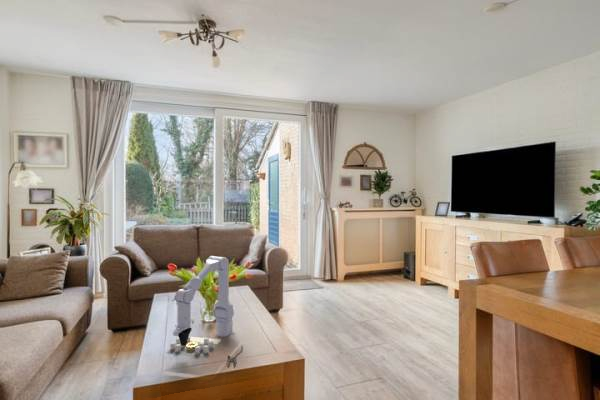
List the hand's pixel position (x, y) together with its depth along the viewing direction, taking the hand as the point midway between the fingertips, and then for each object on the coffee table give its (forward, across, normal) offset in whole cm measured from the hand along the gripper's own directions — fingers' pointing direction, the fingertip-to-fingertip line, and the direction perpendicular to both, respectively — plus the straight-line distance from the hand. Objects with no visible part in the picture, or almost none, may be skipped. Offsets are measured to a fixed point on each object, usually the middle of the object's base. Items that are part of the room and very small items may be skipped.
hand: (183, 344), depth 149 cm
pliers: (+7, -8, +22) cm, 24 cm away
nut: (+5, -8, 0) cm, 9 cm away
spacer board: (+6, -11, 0) cm, 12 cm away
